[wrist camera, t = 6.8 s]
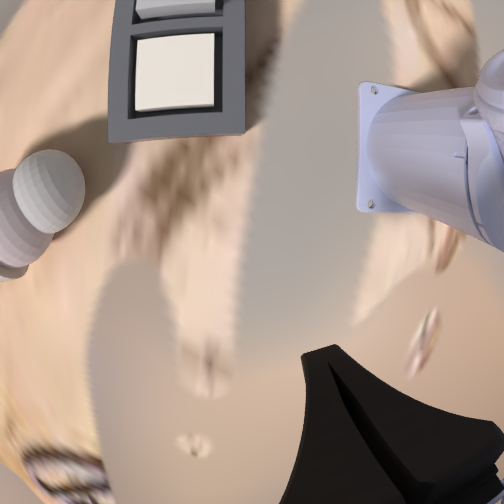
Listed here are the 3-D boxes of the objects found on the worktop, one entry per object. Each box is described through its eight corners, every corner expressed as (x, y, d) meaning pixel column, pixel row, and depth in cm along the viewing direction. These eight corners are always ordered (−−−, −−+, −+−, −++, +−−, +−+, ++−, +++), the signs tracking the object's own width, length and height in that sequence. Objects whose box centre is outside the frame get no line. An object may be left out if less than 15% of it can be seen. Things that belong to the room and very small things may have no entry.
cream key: (214, 41, 12) (214, 33, 11) (213, 107, 14) (213, 104, 12) (143, 47, 12) (137, 40, 11) (141, 112, 13) (135, 110, 12)
